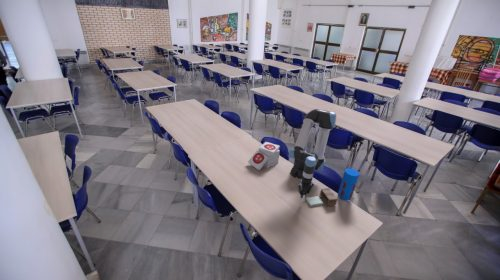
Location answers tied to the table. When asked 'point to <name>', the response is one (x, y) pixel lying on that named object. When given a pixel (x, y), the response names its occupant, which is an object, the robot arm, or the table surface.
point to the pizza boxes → (265, 156)
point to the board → (314, 201)
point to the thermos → (348, 184)
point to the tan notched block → (329, 196)
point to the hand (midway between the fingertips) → (302, 200)
